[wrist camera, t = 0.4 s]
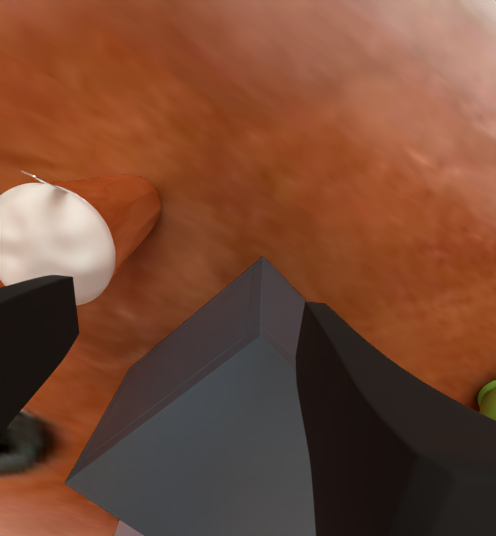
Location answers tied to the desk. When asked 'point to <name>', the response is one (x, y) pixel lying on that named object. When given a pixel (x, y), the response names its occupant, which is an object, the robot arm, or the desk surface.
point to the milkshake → (74, 229)
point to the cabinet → (210, 424)
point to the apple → (488, 400)
